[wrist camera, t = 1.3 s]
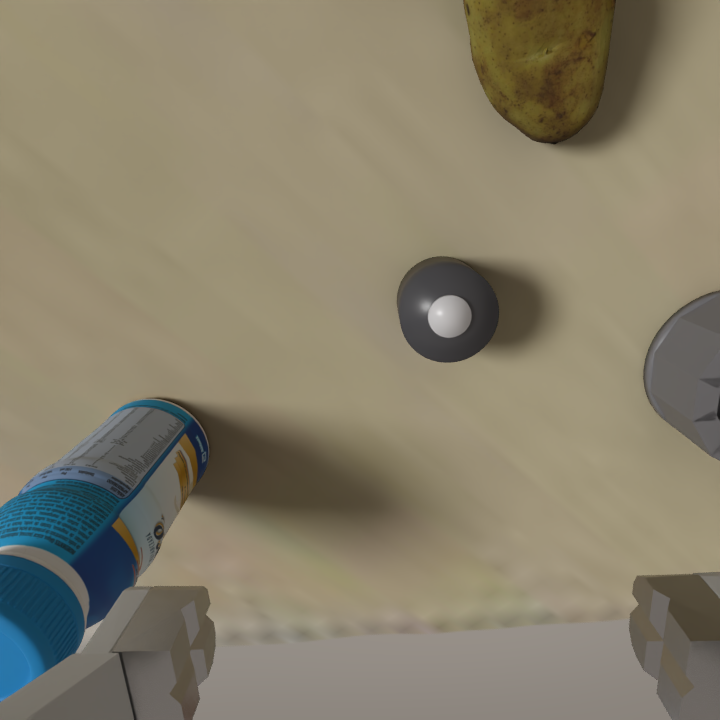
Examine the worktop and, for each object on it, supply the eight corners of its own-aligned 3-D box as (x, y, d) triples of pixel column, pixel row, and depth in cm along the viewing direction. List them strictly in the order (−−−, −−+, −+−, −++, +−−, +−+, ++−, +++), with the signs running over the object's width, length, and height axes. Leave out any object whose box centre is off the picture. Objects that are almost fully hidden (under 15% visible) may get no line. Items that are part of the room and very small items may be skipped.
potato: (444, 149, 33) (464, 136, 26) (451, -96, 29) (478, -196, 22) (575, 146, 33) (635, 132, 25) (600, -101, 29) (680, -205, 21)
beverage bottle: (162, 373, 39) (-45, 548, 20) (235, 456, 41) (111, 688, 22) (83, 432, 40) (-179, 646, 21) (157, 509, 42) (-23, 767, 23)
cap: (394, 259, 36) (397, 270, 31) (482, 253, 35) (500, 263, 30) (399, 343, 37) (402, 366, 32) (482, 338, 37) (499, 361, 32)
